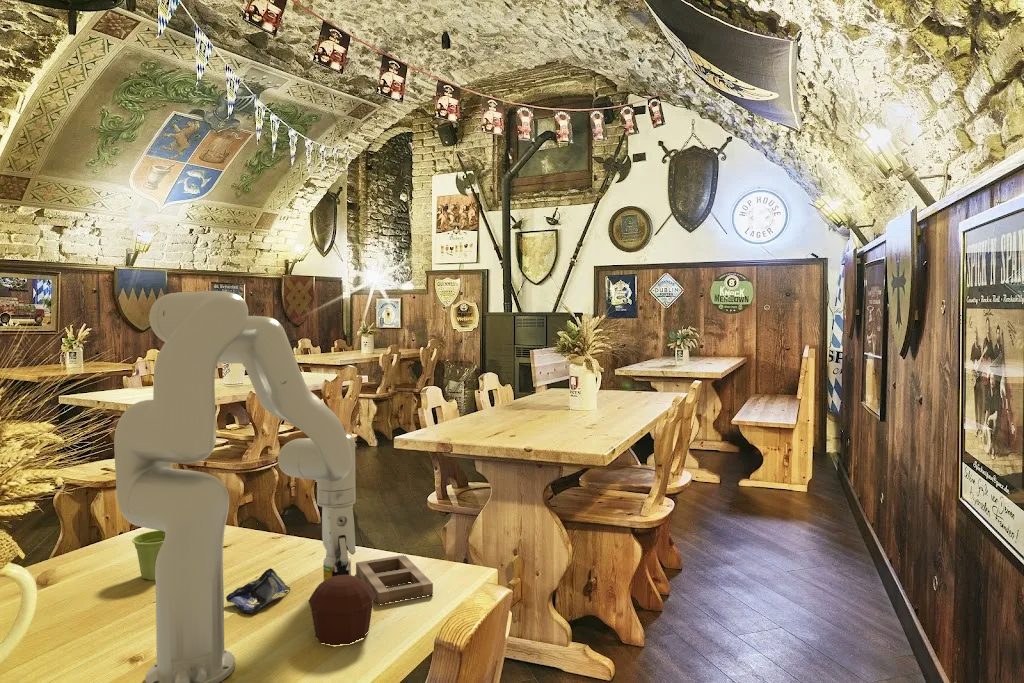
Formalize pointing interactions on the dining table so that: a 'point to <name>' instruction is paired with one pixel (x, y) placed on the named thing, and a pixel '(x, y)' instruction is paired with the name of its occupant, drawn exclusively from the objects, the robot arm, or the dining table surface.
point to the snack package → (258, 592)
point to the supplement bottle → (329, 565)
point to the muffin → (341, 609)
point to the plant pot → (148, 551)
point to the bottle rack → (394, 579)
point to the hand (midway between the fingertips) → (337, 584)
